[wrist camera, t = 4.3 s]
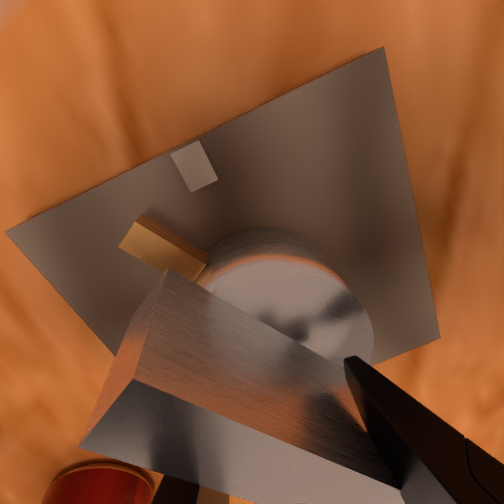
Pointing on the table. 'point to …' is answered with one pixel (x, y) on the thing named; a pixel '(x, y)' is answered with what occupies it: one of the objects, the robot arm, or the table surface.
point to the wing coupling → (242, 373)
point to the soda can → (100, 486)
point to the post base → (260, 207)
